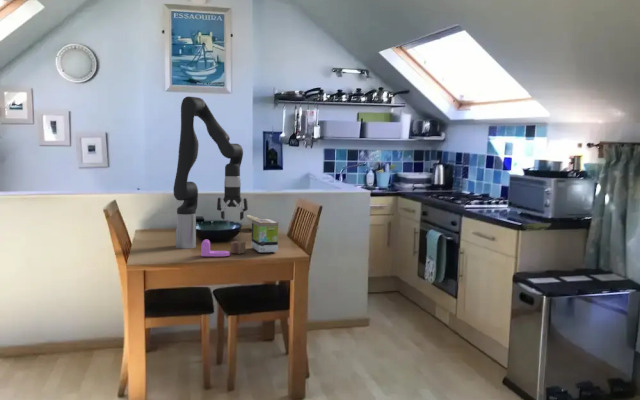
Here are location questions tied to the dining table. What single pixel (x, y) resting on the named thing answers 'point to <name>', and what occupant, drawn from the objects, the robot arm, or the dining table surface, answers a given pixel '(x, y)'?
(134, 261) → the dining table surface
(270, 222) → the tea box
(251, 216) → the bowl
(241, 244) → the walnut block
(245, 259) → the dining table surface
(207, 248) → the bracket
